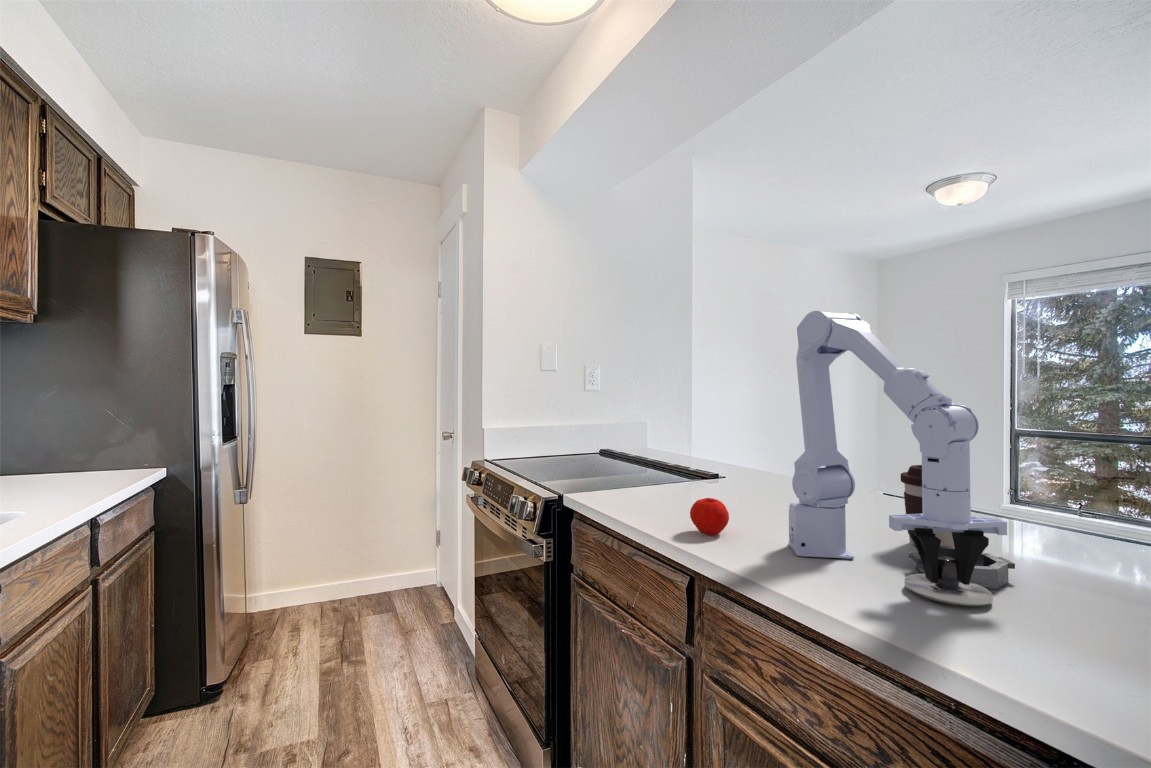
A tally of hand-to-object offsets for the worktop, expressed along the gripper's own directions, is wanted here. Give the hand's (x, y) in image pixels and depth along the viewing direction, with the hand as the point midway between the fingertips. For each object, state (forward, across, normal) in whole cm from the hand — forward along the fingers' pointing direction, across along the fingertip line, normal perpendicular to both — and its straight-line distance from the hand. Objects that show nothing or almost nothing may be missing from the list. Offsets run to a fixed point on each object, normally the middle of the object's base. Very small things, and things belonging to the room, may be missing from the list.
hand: (947, 581), depth 75 cm
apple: (+2, -32, +27) cm, 42 cm away
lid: (+2, 0, 0) cm, 2 cm away
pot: (+2, +6, +9) cm, 11 cm away
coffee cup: (+2, +9, +25) cm, 27 cm away
